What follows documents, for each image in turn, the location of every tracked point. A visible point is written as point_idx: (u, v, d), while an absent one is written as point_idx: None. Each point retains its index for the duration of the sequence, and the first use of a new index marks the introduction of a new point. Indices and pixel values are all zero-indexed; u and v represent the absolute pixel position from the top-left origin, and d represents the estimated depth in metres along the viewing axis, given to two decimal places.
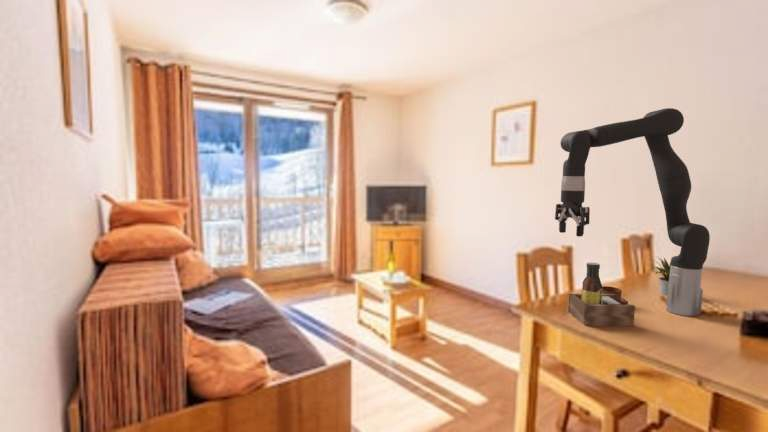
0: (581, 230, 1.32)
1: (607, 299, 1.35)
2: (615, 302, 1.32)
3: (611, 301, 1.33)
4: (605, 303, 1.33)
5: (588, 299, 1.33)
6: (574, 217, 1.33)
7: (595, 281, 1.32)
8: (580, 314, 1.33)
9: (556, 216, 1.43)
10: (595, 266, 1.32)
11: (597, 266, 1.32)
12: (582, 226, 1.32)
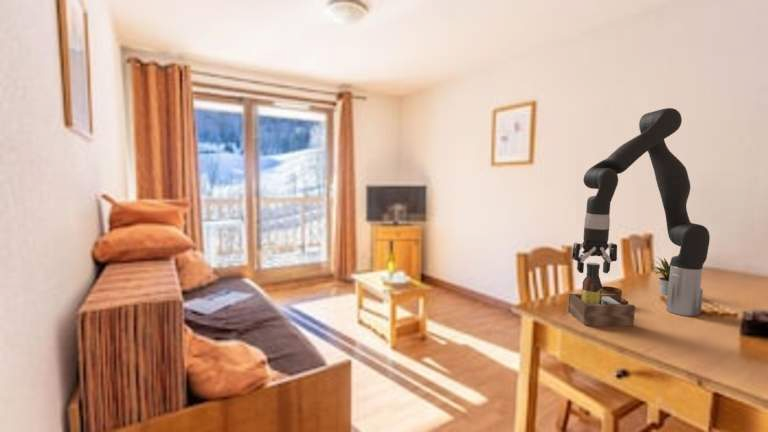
0: None
1: (607, 299, 1.36)
2: (615, 302, 1.32)
3: (611, 301, 1.33)
4: (605, 303, 1.33)
5: (587, 299, 1.33)
6: (606, 255, 1.31)
7: (595, 281, 1.32)
8: (580, 314, 1.33)
9: (577, 257, 1.32)
10: (595, 266, 1.32)
11: (597, 266, 1.32)
12: None
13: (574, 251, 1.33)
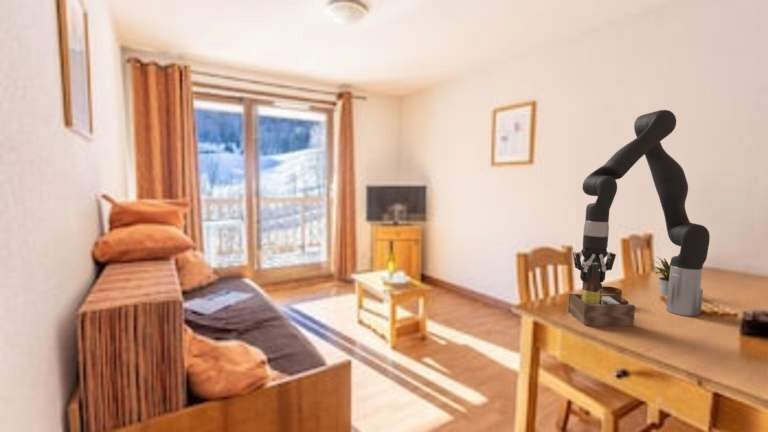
0: None
1: (607, 299, 1.36)
2: (615, 302, 1.32)
3: (611, 301, 1.33)
4: (605, 303, 1.33)
5: (588, 299, 1.33)
6: (603, 263, 1.31)
7: (595, 281, 1.32)
8: (580, 314, 1.33)
9: (580, 266, 1.32)
10: (595, 266, 1.32)
11: (597, 266, 1.32)
12: None
13: (575, 261, 1.33)
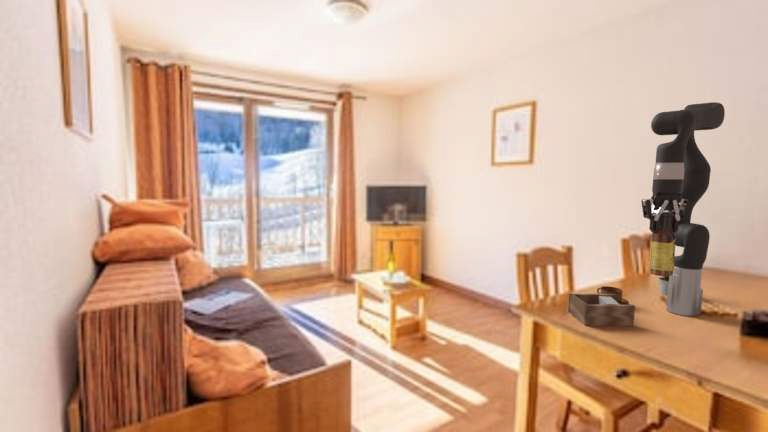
0: None
1: (607, 299, 1.35)
2: (614, 302, 1.32)
3: (611, 301, 1.33)
4: (604, 303, 1.34)
5: (659, 251, 1.18)
6: (677, 211, 1.17)
7: (668, 231, 1.17)
8: (580, 314, 1.33)
9: (650, 214, 1.18)
10: (668, 214, 1.17)
11: (670, 214, 1.17)
12: None
13: (645, 209, 1.19)
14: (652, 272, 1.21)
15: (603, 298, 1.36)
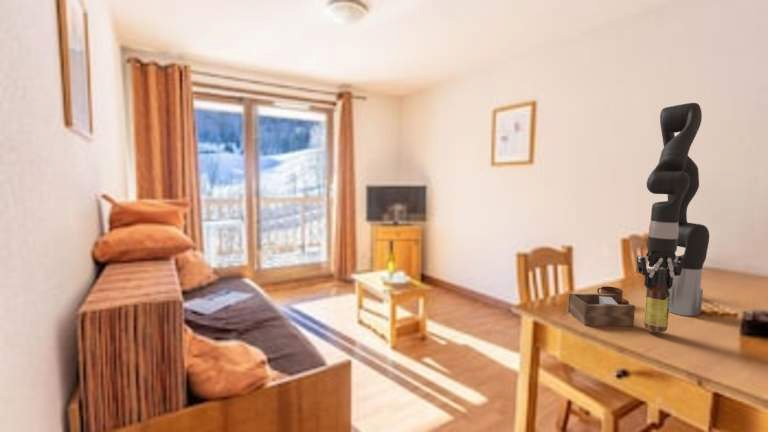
0: None
1: (607, 299, 1.35)
2: (613, 302, 1.32)
3: (610, 301, 1.33)
4: (603, 303, 1.34)
5: (654, 307, 1.21)
6: (672, 268, 1.19)
7: (662, 288, 1.20)
8: (580, 314, 1.33)
9: (645, 271, 1.20)
10: (662, 271, 1.20)
11: (665, 271, 1.20)
12: None
13: (640, 265, 1.21)
14: (647, 327, 1.23)
15: (603, 298, 1.36)
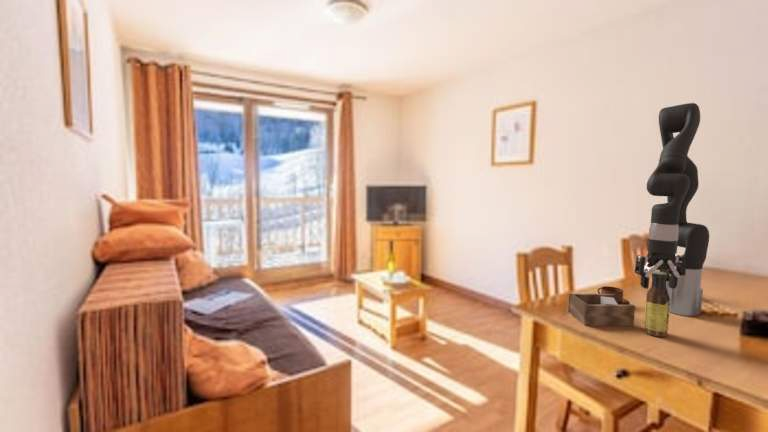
0: None
1: (608, 299, 1.35)
2: (613, 303, 1.32)
3: (610, 301, 1.33)
4: (603, 303, 1.34)
5: (654, 312, 1.21)
6: (674, 269, 1.19)
7: (662, 293, 1.20)
8: (580, 314, 1.33)
9: (642, 271, 1.20)
10: (662, 276, 1.20)
11: (665, 276, 1.20)
12: None
13: (638, 264, 1.21)
14: (647, 331, 1.23)
15: (604, 298, 1.36)
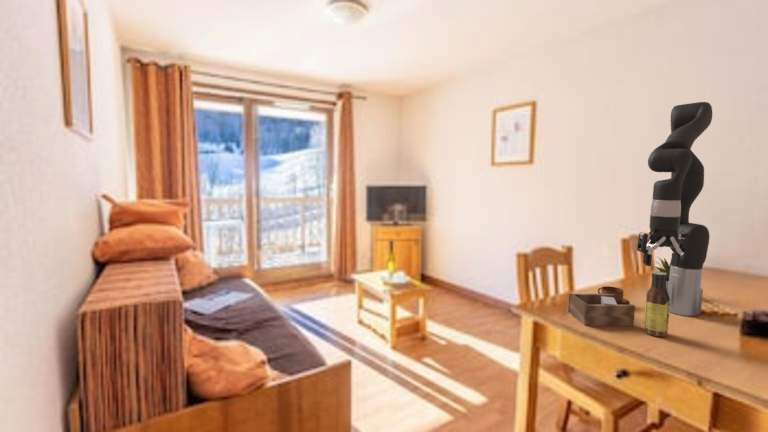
0: None
1: (608, 299, 1.35)
2: (613, 302, 1.32)
3: (610, 301, 1.33)
4: (603, 302, 1.34)
5: (654, 312, 1.21)
6: (677, 245, 1.18)
7: (662, 293, 1.20)
8: (580, 314, 1.33)
9: (644, 248, 1.19)
10: (662, 276, 1.20)
11: (665, 276, 1.20)
12: None
13: (640, 242, 1.20)
14: (647, 331, 1.23)
15: (604, 298, 1.36)
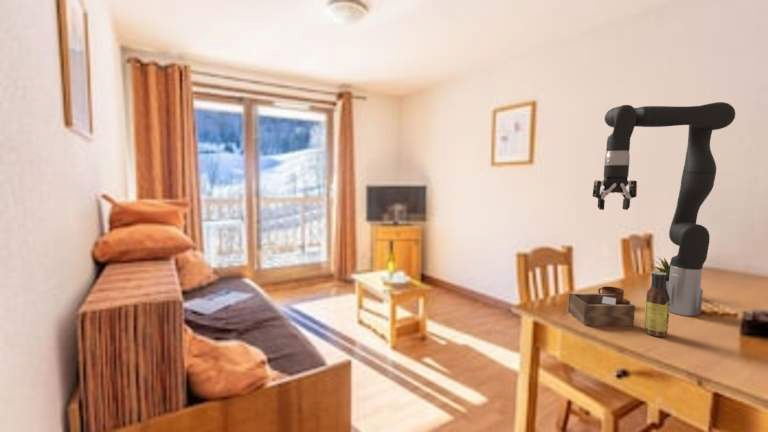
0: None
1: (608, 299, 1.35)
2: (612, 303, 1.32)
3: (609, 301, 1.33)
4: (602, 302, 1.34)
5: (654, 312, 1.21)
6: (626, 191, 1.35)
7: (662, 293, 1.20)
8: (580, 314, 1.33)
9: (598, 193, 1.36)
10: (662, 276, 1.20)
11: (665, 276, 1.20)
12: None
13: (595, 188, 1.37)
14: (647, 331, 1.23)
15: (605, 298, 1.36)
